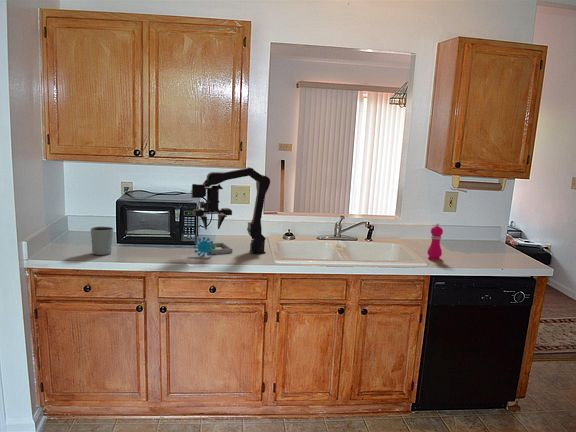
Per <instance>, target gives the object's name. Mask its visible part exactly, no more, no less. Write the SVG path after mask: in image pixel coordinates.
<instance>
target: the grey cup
mask: <svg viewBox="0 0 576 432" xmlns="http://www.w3.org/2000/svg"><path fill="white" fill-rule="evenodd" d="M113 235H114V227H110V226H94V227H91V228H90V236H91V245H92V246H91V252H92V254H93V255H97V256H98V255H99V256H102V255H104V256H105V255H110V254H111V253H112V249H113V248H112V246H113V237H114V236H113Z"/></svg>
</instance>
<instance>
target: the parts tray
mask: <svg viewBox="0 0 576 432" xmlns="http://www.w3.org/2000/svg"><path fill="white" fill-rule="evenodd" d="M214 244H216V247H215V250H214V249H212V250H213V252H210V250H208V253H209V254H210V255H225V254H233V248H232V247H230V246H229V245H227V244H226V243H225V242H213V244H211V243H210V244H209V245H214ZM217 247H223V248H220V249H219V248H217ZM216 248H217V249H216Z"/></svg>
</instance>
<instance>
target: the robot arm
mask: <svg viewBox="0 0 576 432" xmlns="http://www.w3.org/2000/svg"><path fill="white" fill-rule="evenodd" d="M244 177H250V178H252V179H253V180H254V181H255V182H256V183H255V187H256V188H255V189H256V195H255V196H256V198H255V203H254V209H253V214H252V219H251V222H249V221H248V222H247V227H246V231H247V235H249V236H250V237H251V242H250V244H249V252H250V253H253V254H255V255H257V254H266V251H265V244H266V237H265V236H264V235H263V234H262V215H263V211H264V210H263V209H264V204H265V199H266V198H265V197H266V194H267V192H268V190H269V188H270V185H271V179H270V178H269V176H267V175H264V174H260V173H259V172H258V171H256V170H255V169H254V168H252V167H245V168H242V169H235V170H230V171H222V172H221V171H218V172H217V171H212V172H211V171H210V172H208V174H207V175H206V179H205V180H204V181H203V183H202V184H201V183H200V184H197V183H192V185H191V191H190V192H191V195H190V196H191V199H204V197H206V199H205V201H199V208H193V209H192V216H194V217H198V218H200V219H201V221H202V224H203V227H204V230H207V229H208V217H207V215H217V230H220V228H221V225H222V224H223V222H224V220H225V218H226V217H228V216H232V215H233V210H232V209H231V208H229V207H225V208H224V207H223V208H222V207H221V208H219V205H220V204H219V203H220V199H219V198H220V196H219V194H220V190H223V189H224V188H223V186H221V183H224V182H225V181H228V180H233V179H239V178H244Z"/></svg>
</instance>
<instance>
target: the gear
mask: <svg viewBox="0 0 576 432" xmlns="http://www.w3.org/2000/svg"><path fill="white" fill-rule="evenodd" d="M198 241H199V243H198ZM198 241H194V244H195V245H193V249H194V253H195V254H197V256H198V257H200V256H202V257H206V256H210V252H213V250H212V249H214V250H215V249H216V248H217V247H216V244H214V245H209V244H210V243H211V244H213V243H214V241H213V240H211V238H209V237H207V239H206V237H205V236H203V237H202V238H198ZM196 245H197V246H196ZM208 250H210V252H209V251H208Z"/></svg>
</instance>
